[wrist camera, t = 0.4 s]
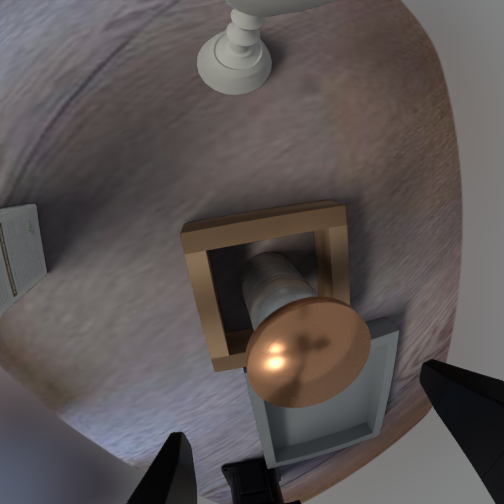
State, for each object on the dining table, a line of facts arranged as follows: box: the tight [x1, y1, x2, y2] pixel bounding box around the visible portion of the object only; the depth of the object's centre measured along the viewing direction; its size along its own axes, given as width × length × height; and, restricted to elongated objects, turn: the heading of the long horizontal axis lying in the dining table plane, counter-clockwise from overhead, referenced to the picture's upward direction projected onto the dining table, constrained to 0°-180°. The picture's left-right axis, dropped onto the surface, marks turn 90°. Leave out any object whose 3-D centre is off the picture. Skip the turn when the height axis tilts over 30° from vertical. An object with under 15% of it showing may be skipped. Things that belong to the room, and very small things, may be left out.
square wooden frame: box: [180, 200, 350, 372], centre depth 20 cm, size 10×10×3 cm
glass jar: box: [240, 252, 371, 408], centre depth 16 cm, size 6×6×10 cm
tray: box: [243, 317, 399, 469], centre depth 24 cm, size 15×13×2 cm
